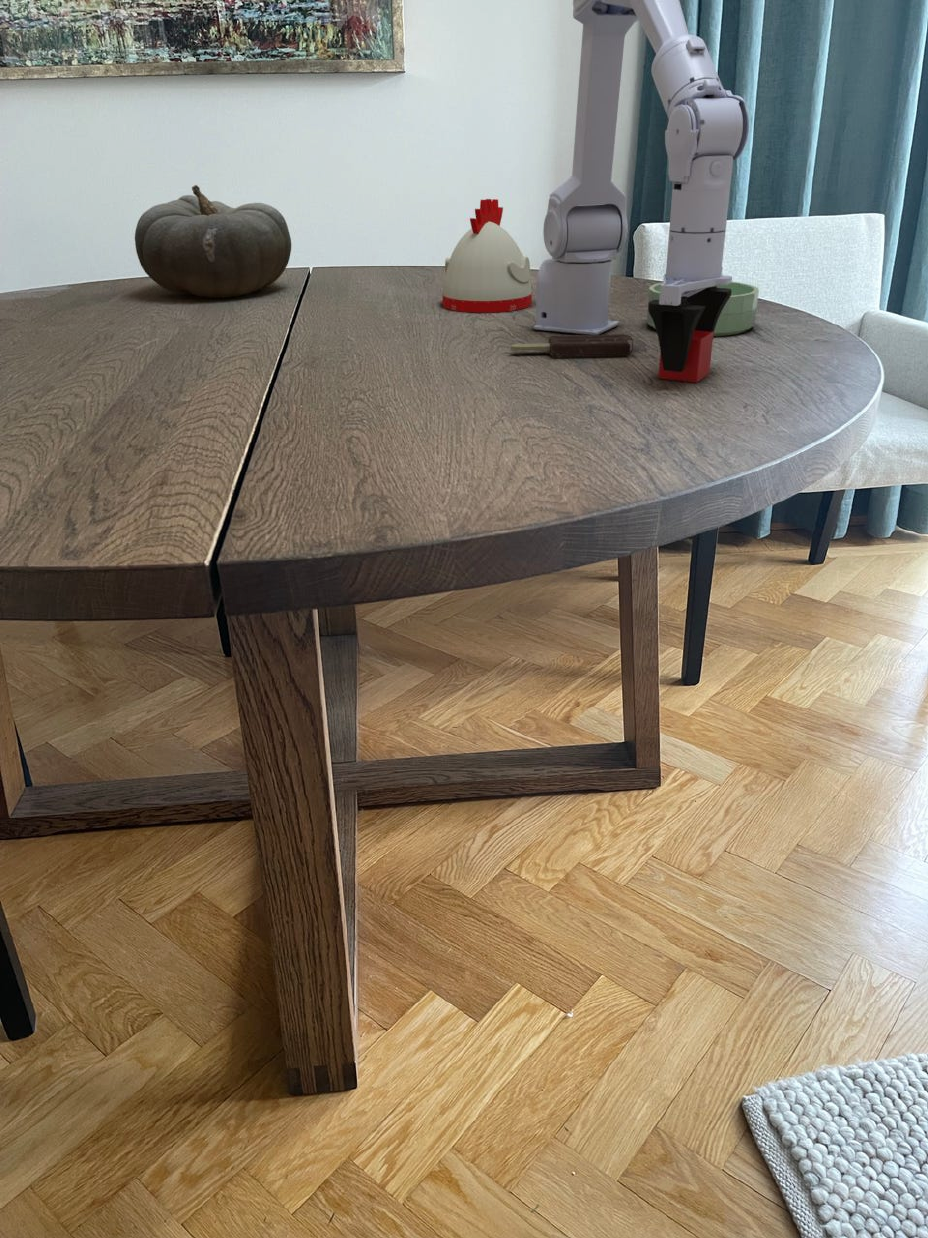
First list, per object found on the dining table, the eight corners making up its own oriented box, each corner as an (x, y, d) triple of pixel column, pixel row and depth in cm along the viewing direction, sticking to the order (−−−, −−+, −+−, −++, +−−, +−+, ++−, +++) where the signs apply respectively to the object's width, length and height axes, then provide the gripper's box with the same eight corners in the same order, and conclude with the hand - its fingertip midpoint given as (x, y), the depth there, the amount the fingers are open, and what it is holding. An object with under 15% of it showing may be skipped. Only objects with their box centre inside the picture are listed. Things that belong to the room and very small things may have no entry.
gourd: (177, 264, 173) (172, 162, 163) (307, 287, 172) (310, 187, 162) (116, 302, 153) (106, 189, 143) (262, 329, 151) (263, 217, 141)
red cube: (658, 378, 103) (661, 335, 100) (671, 369, 106) (675, 328, 104) (696, 382, 101) (701, 339, 98) (709, 373, 104) (713, 331, 102)
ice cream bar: (511, 358, 112) (636, 356, 112) (511, 345, 111) (636, 342, 111) (509, 349, 117) (629, 347, 117) (510, 335, 116) (630, 333, 116)
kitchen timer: (547, 300, 147) (549, 196, 140) (503, 315, 137) (503, 204, 129) (472, 294, 153) (471, 194, 146) (425, 307, 143) (421, 201, 136)
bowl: (631, 331, 125) (633, 292, 122) (667, 313, 135) (670, 277, 133) (736, 341, 118) (741, 300, 116) (765, 321, 129) (770, 283, 127)
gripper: (713, 239, 89) (699, 381, 95) (755, 224, 100) (739, 352, 106) (643, 236, 92) (634, 374, 99) (691, 222, 103) (680, 347, 109)
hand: (685, 362), depth 103 cm, fingers open, 7 cm apart
